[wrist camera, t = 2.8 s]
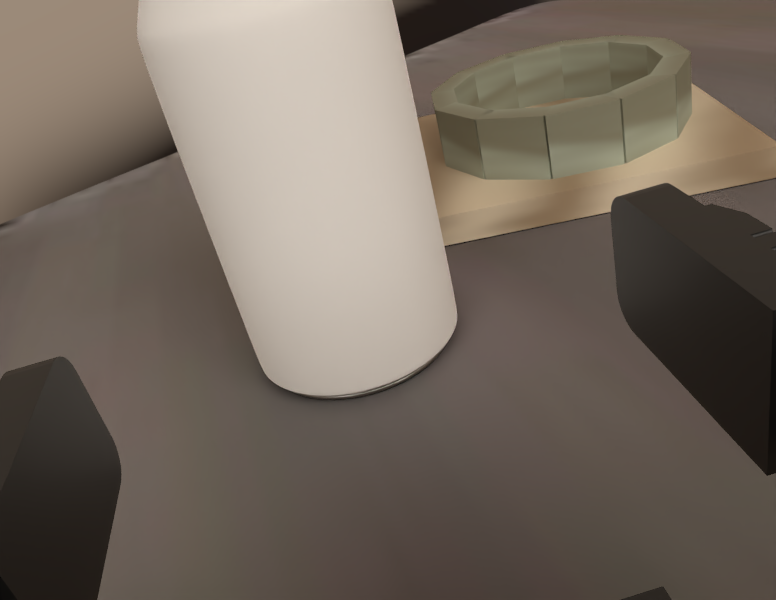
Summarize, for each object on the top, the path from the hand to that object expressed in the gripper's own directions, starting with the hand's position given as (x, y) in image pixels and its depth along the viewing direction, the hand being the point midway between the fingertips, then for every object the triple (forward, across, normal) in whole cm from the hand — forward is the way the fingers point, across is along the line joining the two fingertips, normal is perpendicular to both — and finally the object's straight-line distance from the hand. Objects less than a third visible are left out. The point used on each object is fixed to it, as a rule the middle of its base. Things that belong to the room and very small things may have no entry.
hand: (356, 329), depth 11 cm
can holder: (+21, -11, +7) cm, 25 cm away
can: (+11, 0, +7) cm, 13 cm away
